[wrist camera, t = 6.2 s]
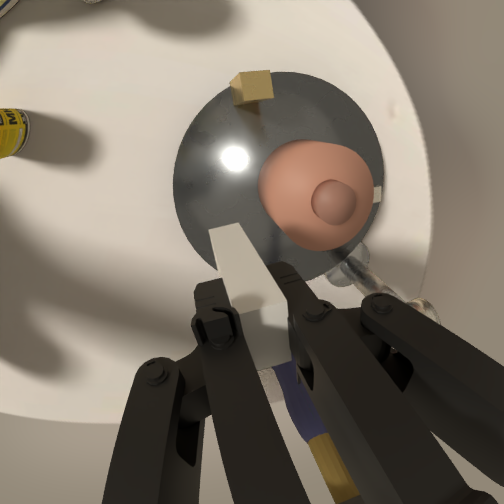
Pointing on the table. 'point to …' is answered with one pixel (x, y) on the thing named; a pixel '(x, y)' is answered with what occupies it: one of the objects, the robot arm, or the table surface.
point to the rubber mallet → (316, 435)
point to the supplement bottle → (13, 131)
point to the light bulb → (91, 1)
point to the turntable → (254, 155)
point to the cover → (316, 192)
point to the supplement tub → (6, 6)
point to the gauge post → (370, 280)
